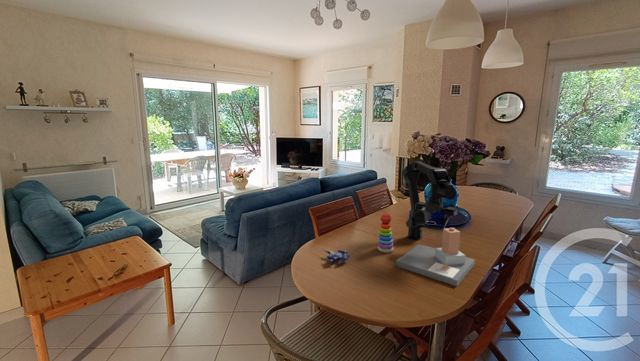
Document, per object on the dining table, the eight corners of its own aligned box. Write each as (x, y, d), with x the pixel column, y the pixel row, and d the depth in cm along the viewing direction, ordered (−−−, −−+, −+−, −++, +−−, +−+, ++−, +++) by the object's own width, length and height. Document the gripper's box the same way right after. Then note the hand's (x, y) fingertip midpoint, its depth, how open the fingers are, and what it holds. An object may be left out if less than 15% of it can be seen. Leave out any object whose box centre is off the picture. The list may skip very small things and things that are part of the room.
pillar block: (441, 249, 136) (443, 226, 133) (451, 248, 136) (453, 226, 134) (447, 254, 131) (449, 230, 129) (458, 253, 131) (460, 230, 129)
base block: (434, 256, 138) (435, 248, 137) (452, 254, 139) (453, 246, 138) (445, 265, 129) (446, 256, 128) (464, 263, 131) (465, 255, 130)
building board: (395, 265, 134) (396, 260, 134) (418, 248, 152) (418, 243, 151) (456, 286, 117) (457, 280, 117) (474, 264, 135) (474, 258, 135)
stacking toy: (394, 247, 153) (395, 212, 150) (392, 254, 146) (394, 217, 142) (378, 245, 156) (379, 211, 152) (376, 252, 149) (377, 215, 145)
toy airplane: (320, 254, 146) (320, 247, 146) (348, 253, 147) (348, 247, 146) (320, 267, 134) (320, 259, 133) (352, 266, 134) (352, 259, 133)
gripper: (411, 194, 145) (409, 225, 148) (451, 201, 133) (448, 234, 136) (420, 190, 153) (418, 219, 156) (459, 196, 141) (456, 228, 144)
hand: (434, 225), depth 148 cm, fingers open, 9 cm apart
